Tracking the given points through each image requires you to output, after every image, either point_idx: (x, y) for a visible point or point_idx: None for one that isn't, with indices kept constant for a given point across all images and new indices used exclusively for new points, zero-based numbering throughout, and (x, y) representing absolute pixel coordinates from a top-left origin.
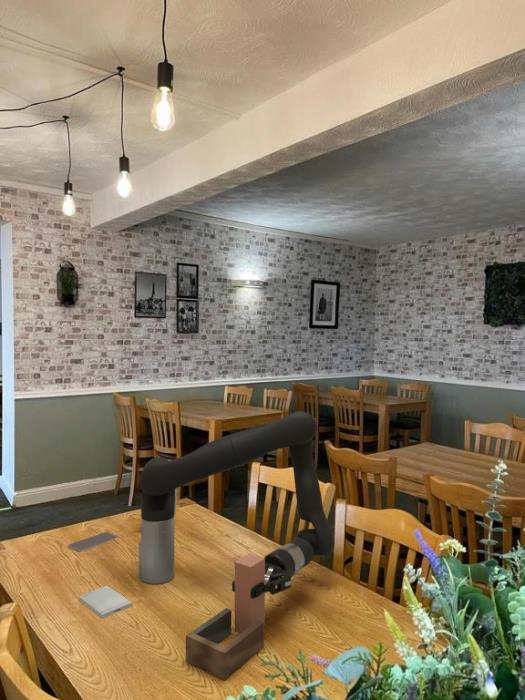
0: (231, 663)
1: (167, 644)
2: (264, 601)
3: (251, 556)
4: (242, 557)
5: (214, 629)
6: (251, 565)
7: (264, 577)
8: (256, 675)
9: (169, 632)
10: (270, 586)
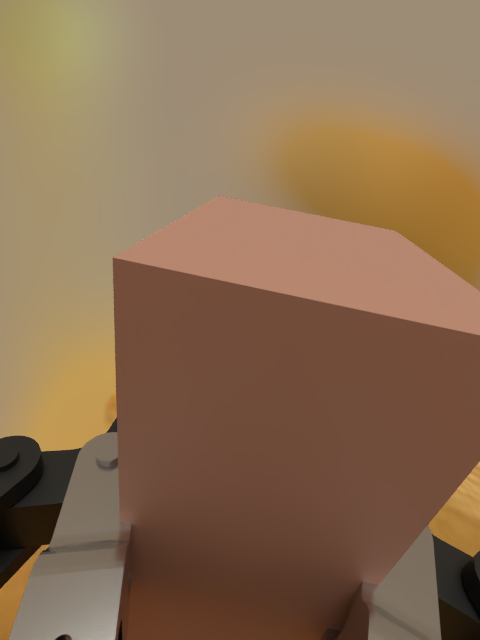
0: None
1: None
2: None
3: (394, 289)
4: (446, 267)
5: None
6: (228, 202)
7: (123, 500)
8: (114, 408)
9: (458, 499)
10: (41, 454)
